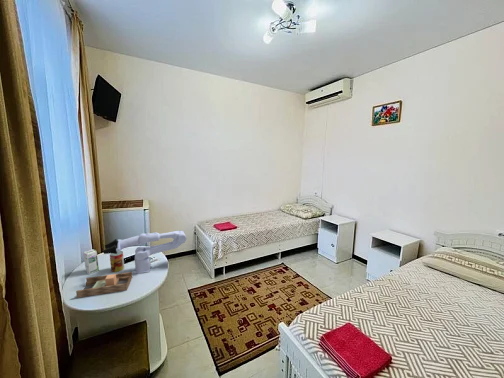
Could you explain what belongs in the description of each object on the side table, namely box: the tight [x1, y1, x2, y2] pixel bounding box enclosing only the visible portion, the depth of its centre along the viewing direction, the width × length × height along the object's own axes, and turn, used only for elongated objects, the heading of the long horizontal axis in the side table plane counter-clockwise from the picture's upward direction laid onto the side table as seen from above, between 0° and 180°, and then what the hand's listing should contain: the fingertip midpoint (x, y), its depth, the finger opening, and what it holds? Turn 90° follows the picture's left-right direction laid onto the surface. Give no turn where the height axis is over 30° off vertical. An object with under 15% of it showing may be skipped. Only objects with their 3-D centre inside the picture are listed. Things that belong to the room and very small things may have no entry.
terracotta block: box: [105, 273, 117, 286], centre depth 132 cm, size 4×4×4 cm
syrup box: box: [83, 249, 100, 275], centre depth 148 cm, size 6×6×14 cm
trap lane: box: [75, 271, 133, 299], centre depth 131 cm, size 25×14×4 cm, turn 107°
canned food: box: [109, 250, 125, 273], centre depth 151 cm, size 8×8×12 cm
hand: (104, 249), depth 139 cm, fingers open, 7 cm apart
